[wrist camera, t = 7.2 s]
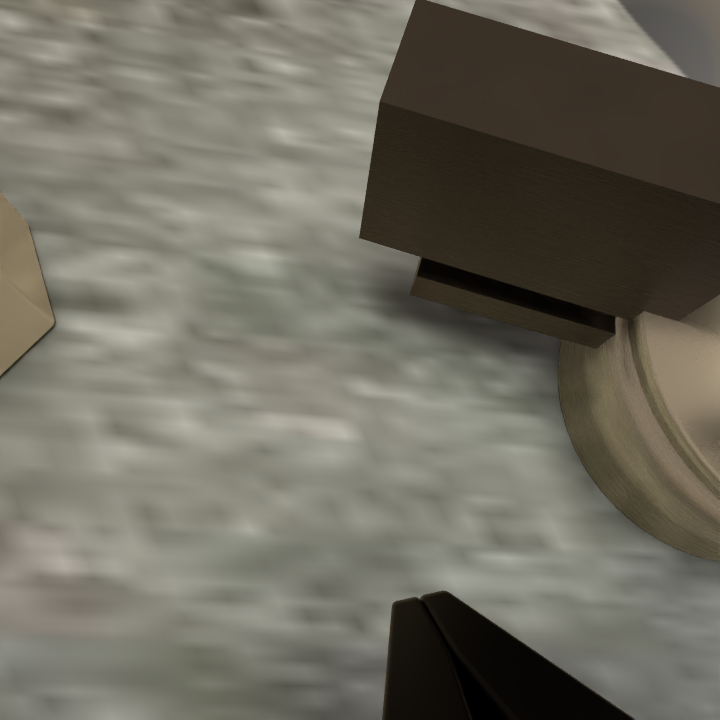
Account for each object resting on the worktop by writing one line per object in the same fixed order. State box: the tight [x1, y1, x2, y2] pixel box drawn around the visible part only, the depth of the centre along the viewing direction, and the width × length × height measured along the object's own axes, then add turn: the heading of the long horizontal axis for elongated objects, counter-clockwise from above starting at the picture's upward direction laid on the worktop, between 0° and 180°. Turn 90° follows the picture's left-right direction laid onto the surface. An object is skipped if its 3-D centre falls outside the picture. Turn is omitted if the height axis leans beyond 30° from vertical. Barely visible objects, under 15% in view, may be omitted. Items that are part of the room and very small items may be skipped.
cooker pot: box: [410, 257, 720, 562], centre depth 23 cm, size 20×13×6 cm, turn 74°
